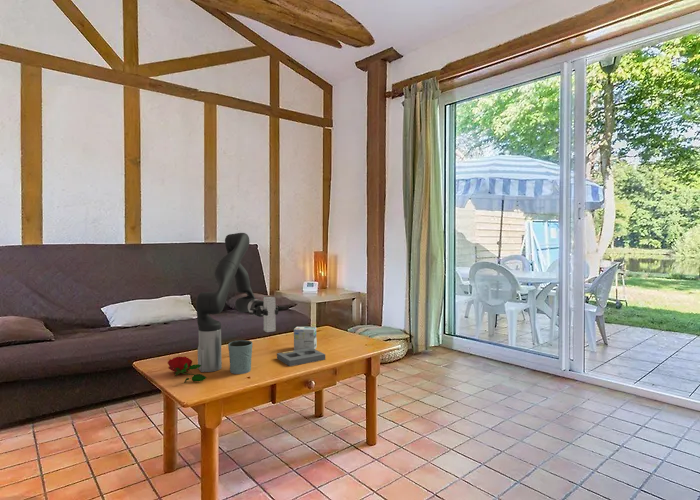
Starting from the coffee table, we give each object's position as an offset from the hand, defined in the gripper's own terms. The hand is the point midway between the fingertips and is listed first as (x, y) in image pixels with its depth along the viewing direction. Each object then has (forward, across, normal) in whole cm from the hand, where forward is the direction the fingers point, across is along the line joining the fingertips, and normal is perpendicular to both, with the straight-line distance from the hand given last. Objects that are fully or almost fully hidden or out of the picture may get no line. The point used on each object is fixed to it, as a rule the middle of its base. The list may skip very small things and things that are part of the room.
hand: (272, 312), depth 190 cm
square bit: (-3, 0, +8) cm, 9 cm away
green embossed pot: (+1, -15, +24) cm, 28 cm away
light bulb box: (-15, +24, +23) cm, 37 cm away
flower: (-1, -35, +24) cm, 43 cm away
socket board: (0, +14, +23) cm, 27 cm away
